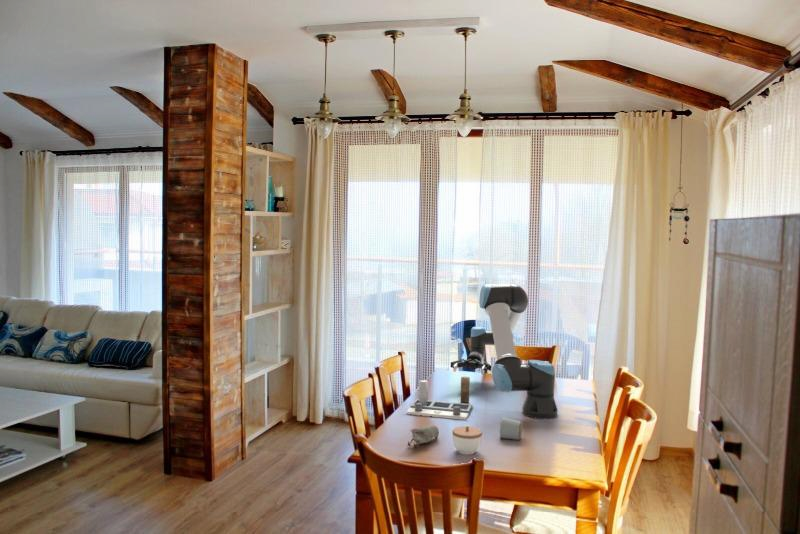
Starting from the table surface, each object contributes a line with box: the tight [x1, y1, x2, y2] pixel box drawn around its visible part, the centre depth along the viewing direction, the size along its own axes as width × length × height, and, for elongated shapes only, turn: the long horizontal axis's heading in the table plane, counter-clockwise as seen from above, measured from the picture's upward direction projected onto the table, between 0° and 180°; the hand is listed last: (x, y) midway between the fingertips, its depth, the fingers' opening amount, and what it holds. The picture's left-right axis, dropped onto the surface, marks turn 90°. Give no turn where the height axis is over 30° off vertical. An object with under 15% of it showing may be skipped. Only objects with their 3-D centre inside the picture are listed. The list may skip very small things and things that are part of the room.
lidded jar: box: [452, 425, 483, 456], centre depth 218 cm, size 11×11×9 cm
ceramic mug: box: [499, 417, 523, 441], centre depth 234 cm, size 11×8×8 cm
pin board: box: [409, 379, 473, 415], centre depth 269 cm, size 26×11×12 cm, turn 75°
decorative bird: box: [407, 424, 440, 450], centre depth 226 cm, size 5×16×8 cm, turn 139°
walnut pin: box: [459, 376, 471, 404], centre depth 280 cm, size 4×4×12 cm
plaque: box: [406, 403, 469, 421], centre depth 261 cm, size 26×6×4 cm, turn 75°
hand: (468, 370), depth 289 cm, fingers open, 13 cm apart
